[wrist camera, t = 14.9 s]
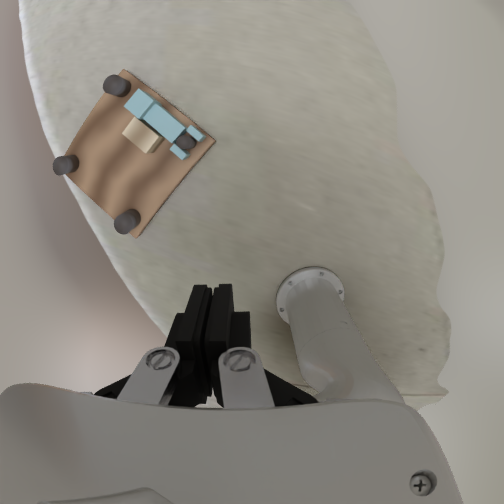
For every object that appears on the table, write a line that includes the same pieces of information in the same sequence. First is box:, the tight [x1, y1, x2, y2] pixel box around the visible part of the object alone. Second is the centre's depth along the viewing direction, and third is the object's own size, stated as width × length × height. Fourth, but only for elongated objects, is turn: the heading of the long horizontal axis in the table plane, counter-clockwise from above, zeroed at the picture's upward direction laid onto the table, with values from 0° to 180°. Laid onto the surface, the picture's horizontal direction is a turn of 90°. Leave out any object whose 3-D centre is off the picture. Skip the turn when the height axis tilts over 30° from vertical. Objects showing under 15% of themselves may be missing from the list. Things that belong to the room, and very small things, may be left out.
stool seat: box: [53, 69, 216, 238], centre depth 36 cm, size 20×20×7 cm
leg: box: [124, 88, 206, 160], centre depth 34 cm, size 12×4×4 cm, turn 46°
